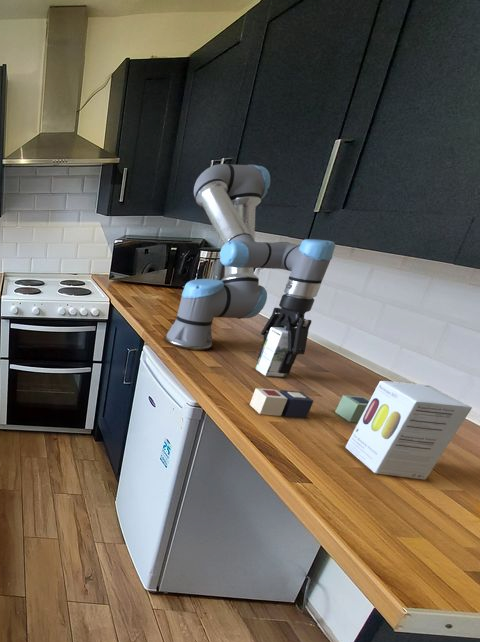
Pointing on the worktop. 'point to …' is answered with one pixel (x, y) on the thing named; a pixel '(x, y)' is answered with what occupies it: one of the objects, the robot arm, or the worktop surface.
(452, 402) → the supplement box
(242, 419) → the worktop surface
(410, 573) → the worktop surface
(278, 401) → the block
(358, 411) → the block
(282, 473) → the worktop surface
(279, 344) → the syrup box
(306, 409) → the block
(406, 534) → the worktop surface
